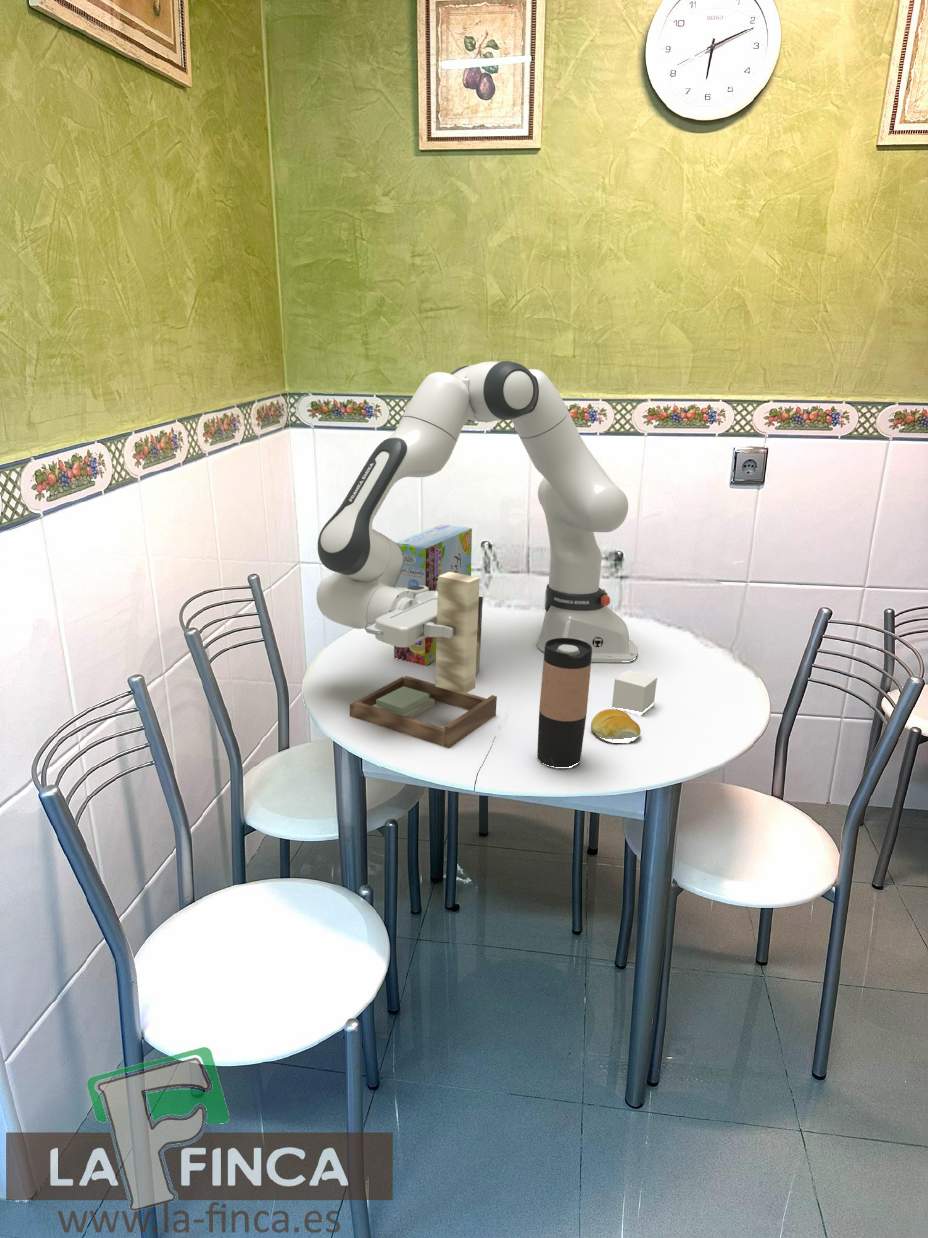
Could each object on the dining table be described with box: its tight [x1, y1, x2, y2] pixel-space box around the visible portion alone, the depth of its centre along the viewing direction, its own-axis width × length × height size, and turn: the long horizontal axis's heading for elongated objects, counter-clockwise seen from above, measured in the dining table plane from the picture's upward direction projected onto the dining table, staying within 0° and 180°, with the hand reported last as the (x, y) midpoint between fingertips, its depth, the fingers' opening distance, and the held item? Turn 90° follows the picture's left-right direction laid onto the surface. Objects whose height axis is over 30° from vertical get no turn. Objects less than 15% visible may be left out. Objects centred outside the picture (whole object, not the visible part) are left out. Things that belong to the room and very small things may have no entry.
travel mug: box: [536, 638, 592, 767], centre depth 137 cm, size 8×8×20 cm
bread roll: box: [590, 708, 641, 740], centre depth 150 cm, size 8×9×4 cm
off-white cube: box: [611, 669, 658, 712], centre depth 160 cm, size 6×6×6 cm
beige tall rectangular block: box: [434, 572, 481, 694], centre depth 145 cm, size 6×4×20 cm, turn 59°
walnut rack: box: [349, 675, 498, 749], centre depth 152 cm, size 21×16×4 cm
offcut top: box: [376, 686, 429, 714], centre depth 154 cm, size 6×8×1 cm
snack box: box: [393, 523, 473, 667], centre depth 183 cm, size 22×9×26 cm, turn 154°
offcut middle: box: [373, 698, 436, 719], centre depth 155 cm, size 7×10×1 cm
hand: (461, 628), depth 144 cm, fingers closed on beige tall rectangular block, 3 cm apart
